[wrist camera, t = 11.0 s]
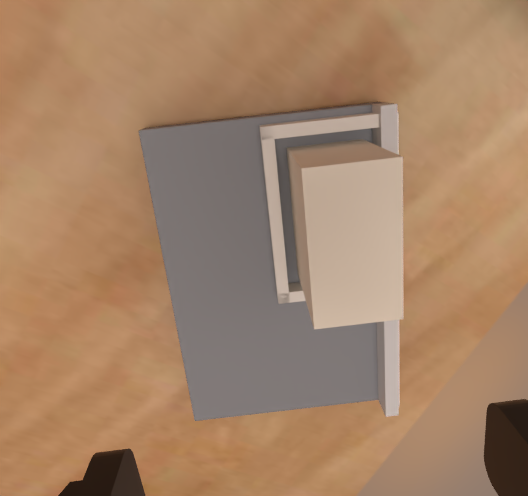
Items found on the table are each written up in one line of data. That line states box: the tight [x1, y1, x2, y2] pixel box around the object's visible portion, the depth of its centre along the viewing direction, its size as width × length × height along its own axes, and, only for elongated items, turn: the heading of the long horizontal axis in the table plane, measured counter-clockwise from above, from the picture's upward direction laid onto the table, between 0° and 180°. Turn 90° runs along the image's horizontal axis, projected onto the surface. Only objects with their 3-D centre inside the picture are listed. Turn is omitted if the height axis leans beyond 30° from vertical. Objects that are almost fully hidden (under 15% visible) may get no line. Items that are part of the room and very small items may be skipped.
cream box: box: [287, 139, 403, 329], centre depth 27 cm, size 9×5×8 cm, turn 6°
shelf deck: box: [139, 102, 399, 421], centre depth 33 cm, size 23×16×4 cm
